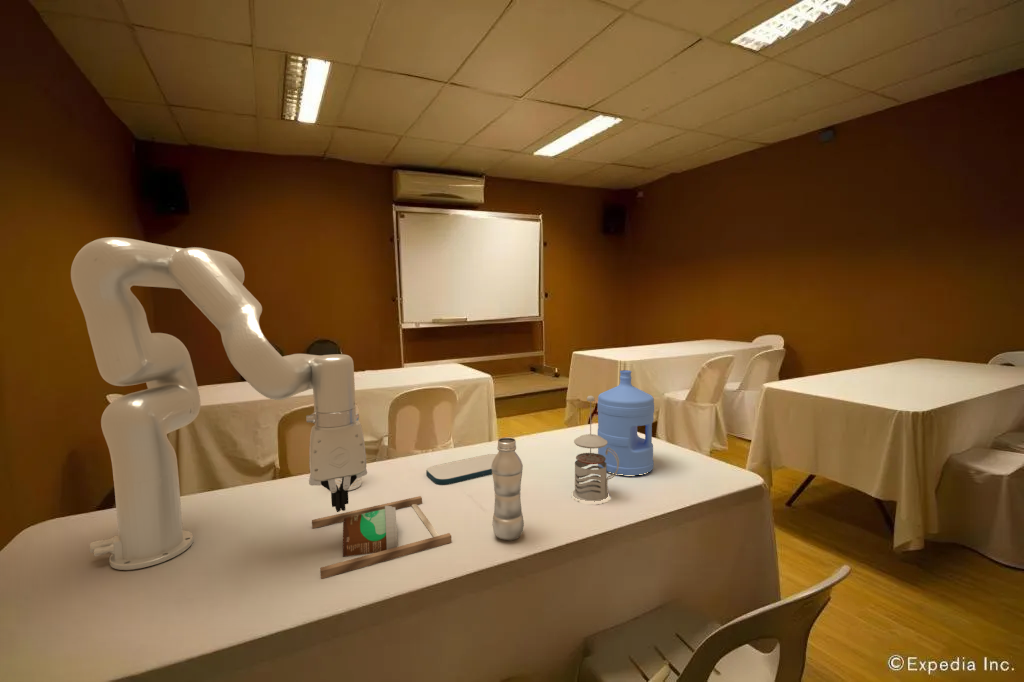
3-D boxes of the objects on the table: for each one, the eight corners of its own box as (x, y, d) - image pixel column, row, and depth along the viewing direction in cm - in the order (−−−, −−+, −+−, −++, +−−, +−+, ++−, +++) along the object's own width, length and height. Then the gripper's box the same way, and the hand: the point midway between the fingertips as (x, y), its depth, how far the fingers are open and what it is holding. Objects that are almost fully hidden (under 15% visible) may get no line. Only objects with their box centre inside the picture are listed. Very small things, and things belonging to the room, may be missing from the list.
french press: (575, 485, 115) (574, 390, 113) (620, 491, 111) (621, 393, 109) (566, 501, 106) (565, 398, 104) (615, 508, 102) (616, 401, 100)
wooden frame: (321, 578, 77) (320, 571, 77) (312, 526, 95) (311, 519, 95) (451, 542, 88) (451, 535, 88) (420, 501, 107) (420, 496, 107)
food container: (345, 501, 93) (394, 494, 96) (346, 529, 94) (395, 521, 97) (341, 529, 82) (396, 520, 85) (342, 560, 82) (398, 551, 85)
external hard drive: (495, 458, 137) (495, 452, 137) (515, 470, 127) (515, 463, 127) (423, 474, 125) (422, 467, 125) (438, 488, 115) (438, 481, 115)
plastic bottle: (496, 547, 86) (495, 446, 85) (489, 530, 93) (487, 436, 91) (528, 541, 88) (527, 443, 86) (518, 525, 94) (517, 434, 93)
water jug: (592, 473, 123) (592, 373, 121) (603, 455, 137) (603, 366, 135) (650, 481, 117) (651, 376, 115) (655, 461, 131) (656, 368, 129)
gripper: (293, 428, 79) (299, 526, 81) (378, 416, 86) (382, 507, 88) (292, 418, 86) (297, 509, 87) (371, 409, 93) (375, 493, 94)
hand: (340, 508), depth 88 cm, fingers closed
